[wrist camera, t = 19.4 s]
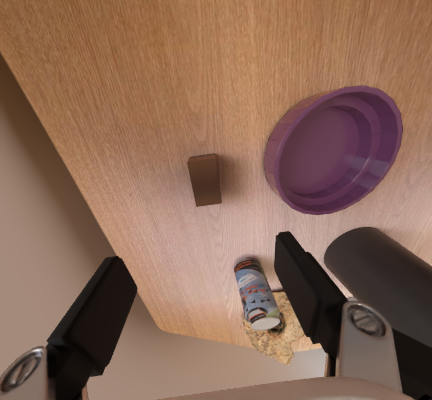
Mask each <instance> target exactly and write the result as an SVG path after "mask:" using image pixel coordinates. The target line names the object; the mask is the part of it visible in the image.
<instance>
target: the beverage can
mask: <svg viewBox="0 0 432 400" xmlns="http://www.w3.org/2000/svg"><path fill="white" fill-rule="evenodd" d="M234 272H235V276H236V280H237V284H238V288H239V292H240V296H241V300H242V304H243V309H244V313H245V317H246V320H247V322H248V323H249V324H250V325H251V327H252V329H253V330H256V331H261V330H267V329H270V328H273V327H275V326H276V325H278V324H279V323H280V319H279V315H280V311H279V308H278V306H277V303H276V301H275V298H274V296H273V293H272V291H271V288H270V286H269V284H268V281H267V279H266V276H265V274H264V271H263V269H262V266H261V264H260V262H259V261H258V260H255V259H244V260H242V261H240V262H239V263H238V264H237V265H236V266H235V268H234Z"/></svg>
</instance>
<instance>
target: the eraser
mask: <svg viewBox="0 0 432 400" xmlns="http://www.w3.org/2000/svg"><path fill="white" fill-rule="evenodd" d="M187 164H188V168H189V173H190V178H191V183H192V188H193V193H194V197H195V202H196V207H198V206H205V205H212V204H219V203H222V201H221V194H220V186H219V178H218V170H217V162H216V157H215V153H214V154H207V155H199V156H192V157H190V158H189V160H188V162H187Z"/></svg>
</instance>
